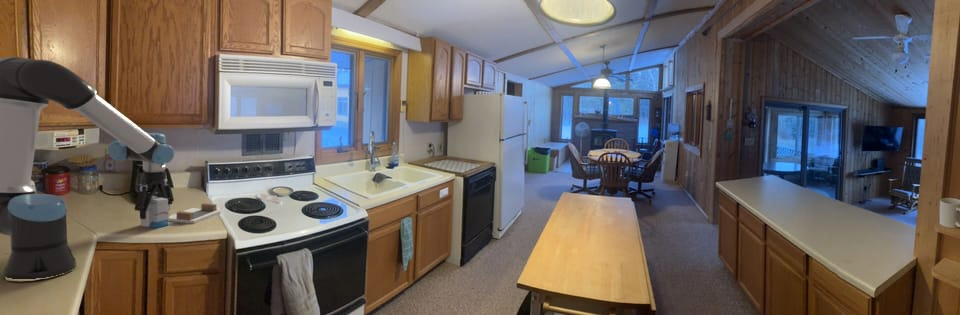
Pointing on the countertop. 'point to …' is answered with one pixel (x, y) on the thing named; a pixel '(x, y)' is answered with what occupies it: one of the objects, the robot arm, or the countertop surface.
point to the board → (195, 214)
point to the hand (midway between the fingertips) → (155, 222)
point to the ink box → (158, 212)
